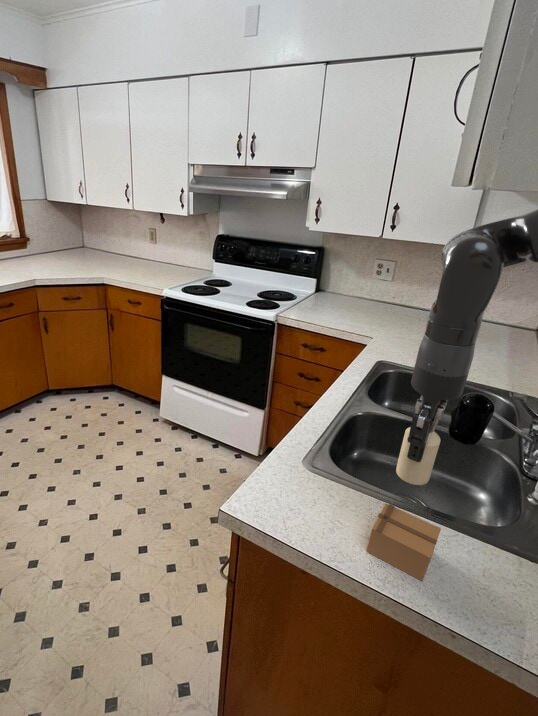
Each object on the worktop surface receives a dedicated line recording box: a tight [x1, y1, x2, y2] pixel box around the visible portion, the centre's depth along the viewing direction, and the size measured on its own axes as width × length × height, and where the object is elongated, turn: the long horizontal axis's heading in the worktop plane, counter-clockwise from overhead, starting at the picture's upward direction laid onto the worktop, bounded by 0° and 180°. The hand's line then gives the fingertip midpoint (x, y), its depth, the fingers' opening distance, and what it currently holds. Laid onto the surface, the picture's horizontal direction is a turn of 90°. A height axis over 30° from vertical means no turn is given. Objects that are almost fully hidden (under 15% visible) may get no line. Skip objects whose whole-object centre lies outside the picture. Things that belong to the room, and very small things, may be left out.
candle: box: [395, 426, 441, 486], centre depth 74 cm, size 6×6×10 cm
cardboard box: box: [366, 502, 442, 582], centre depth 79 cm, size 10×8×6 cm
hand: (419, 450), depth 74 cm, fingers closed on candle, 5 cm apart
